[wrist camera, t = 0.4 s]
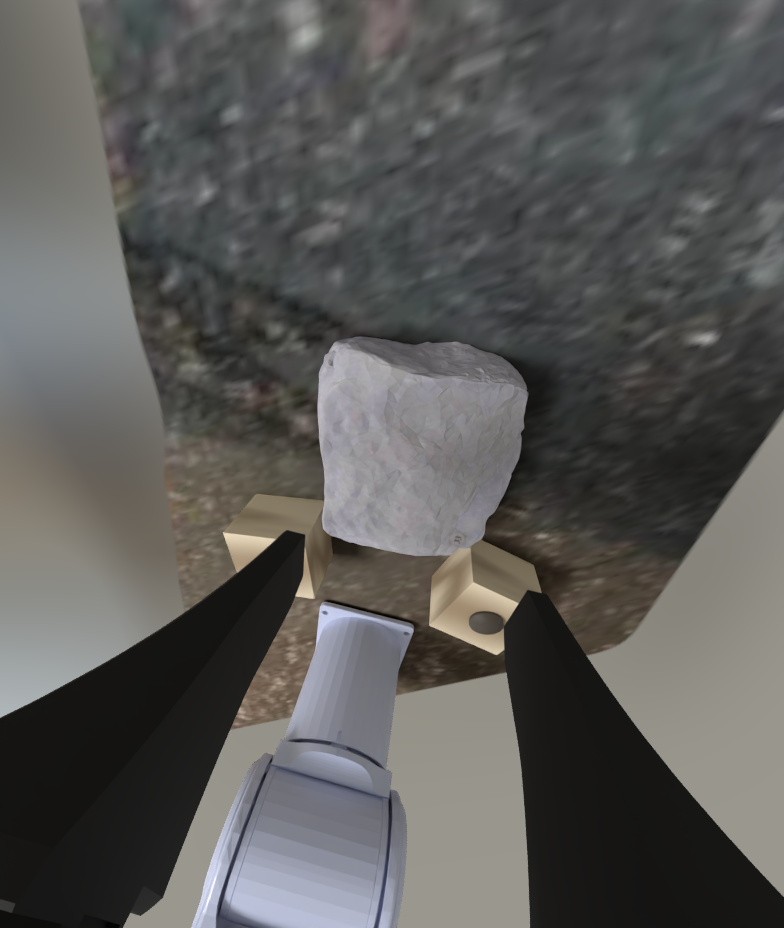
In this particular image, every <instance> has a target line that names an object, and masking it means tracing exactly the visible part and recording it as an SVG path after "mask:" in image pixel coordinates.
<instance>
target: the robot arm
mask: <svg viewBox="0 0 784 928" xmlns="http://www.w3.org/2000/svg"><path fill="white" fill-rule="evenodd" d="M304 553H305V534H301V533H297V532H293V531H289V530H286V531H284V532H283V533H282V534H281V535H280V536H279V537H278V538H277V539H276V540H275V541H273V542H272V543H271V544H270V545H269V546H268V547H267V548H266V549H265V550H264V551H262V552H261V553H260V554H259V555H258V556H257V557H256V558H254V559H253V560H252V561H251V562H250V563H249V564H247V565H246V566H245V567H244V568H242V569H241V570H240V571H239V572H238V573H236V574H235V575H234V576H233V577H232V578H230V579H229V580H228V581H227V582H225V583H224V584H223V585H221V586H220V587H219V588H217V589H216V590H215V591H213V592H212V593H211V594H209V595H208V596H207V597H205V598H204V599H203V600H202V601H200V602H199V603H197V604H196V605H195V606H193V607H192V608H190V609H189V610H188V611H186V612H185V613H183V614H182V615H180V616H179V617H178V618H176V619H175V620H173V621H172V622H170V623H169V624H167V625H166V626H164V627H163V628H161V629H159V630H158V631H157V632H155V633H153V634H152V635H150V636H148V637H147V638H145V639H144V640H142V641H140V642H139V643H137V644H136V645H134V646H132V647H131V648H129V649H127V650H126V651H124V652H122V653H121V654H119V655H117V656H116V657H114V658H112V659H111V660H109V661H107V662H105V663H104V664H102V665H100V666H98V667H96V668H95V669H93V670H91V671H89V672H87V673H85V674H84V675H82V676H80V677H78V678H76V679H74V680H73V681H71V682H69V683H67V684H65V685H63V686H62V687H60V688H58V689H56V690H54V691H53V692H51V693H49V694H47V695H45V696H43V697H41V698H39V699H37V700H35V701H33V702H32V703H30V704H28V705H25V706H23V707H21V708H19V709H17V710H15V711H13V712H11V713H9V714H7V715H5V716H3V717H1V718H0V928H123V926H124V924H125V922H126V920H127V918H128V916H129V914H130V913H133V914H136V915H140V916H141V915H142V914H144V913H145V912H147V911H148V910H149V909H150V908H152V907H153V906H154V905H155V904H156V903H157V902H158V901H159V900H160V899H162V898H163V895H164V893H165V890H166V888H167V885H168V882H169V880H170V877H171V874H172V872H173V869H174V867H175V864H176V862H177V859H178V856H179V854H180V851H181V849H182V846H183V843H184V841H185V838H186V836H187V833H188V831H189V828H190V826H191V823H192V821H193V818H194V815H195V813H196V811H197V808H198V806H199V803H200V801H201V798H202V796H203V793H204V791H205V788H206V786H207V783H208V781H209V779H210V776H211V774H212V771H213V769H214V766H215V764H216V761H217V759H218V757H219V754H220V752H221V750H222V747H223V745H224V742H225V740H226V738H227V735H228V733H229V731H230V728H231V726H232V724H233V721H234V719H235V717H236V715H237V712H238V710H239V708H240V705H241V703H242V701H243V698H244V696H245V694H246V692H247V690H248V688H249V686H250V684H251V682H252V680H253V677H254V676H255V674H256V672H257V670H258V668H259V666H260V664H261V662H262V661H263V659H264V657H265V655H266V653H267V651H268V649H269V647H270V646H271V644H272V642H273V640H274V638H275V636H276V634H277V632H278V630H279V629H280V627H281V625H282V623H283V621H284V619H285V617H286V615H287V613H288V611H289V609H290V608H291V605H292V603H293V600H294V598H295V596H296V593H297V591H298V588H299V586H300V583H301V581H302V578H303V571H304ZM413 632H414V626H413V624H411V623H408V622H404V621H400V620H396V619H392V618H388V617H385V616H381V615H377V614H373V613H369V612H365V611H361V610H357V609H353V608H349V607H345V606H342V605H338V604H334V603H330V602H323V603H322V604H321V606H320V612H319V622H318V631H317V641H316V650H315V652H314V655H313V658H312V661H311V664H310V667H309V670H308V672H307V675H306V678H305V681H304V684H303V687H302V689H301V692H300V695H299V698H298V701H297V704H296V706H295V709H294V712H293V715H292V718H291V721H290V724H289V727H288V729H287V732H286V735H285V738H284V740H280V741H279V743H278V746H277V749H276V752H275V755H274V757H273V755H271V754H267V753H265V754H264V755H263V756H262V757H261V758H260V759H258V760H257V761H256V762H254V763H253V764H252V765H251V767H250V768H249V770H248V772H247V774H246V776H245V778H244V780H243V782H242V784H241V786H240V789H239V791H238V793H237V795H236V798H235V800H234V802H233V805H232V807H231V810H230V812H229V815H228V817H227V820H226V822H225V825H224V828H223V830H222V833H221V835H220V838H219V841H218V843H217V846H216V849H215V852H214V855H213V857H212V860H211V864H210V866H209V870H208V873H207V876H206V879H205V883H204V887H203V892H202V898H201V901H200V904H199V907H198V910H197V913H196V916H195V919H194V921H193V924H192V927H191V928H397V923H398V918H399V913H400V907H401V901H402V894H403V885H404V876H405V864H406V846H407V825H406V815H405V810H404V807H403V805H402V803H401V800H400V796H399V794H398V792H397V791H395V790H391V789H390V786H391V778H392V772H391V771H388V770H386V766H387V758H388V750H389V743H390V734H391V727H392V719H393V710H394V702H395V695H396V687H397V679H398V671H399V668H400V665H401V663H402V660H403V658H404V655H405V652H406V650H407V647H408V645H409V642H410V640H411V637H412V635H413ZM504 651H505V664H506V671H507V678H508V683H509V689H510V696H511V703H512V709H513V715H514V721H515V727H516V733H517V739H518V745H519V752H520V760H521V768H522V780H523V792H524V806H525V819H526V837H527V851H528V852H527V854H528V874H529V875H528V876H529V900H530V901H529V902H530V928H784V897H783V896H782V895H781V894H780V893H779V892H778V891H777V890H776V889H775V887H773V886H772V884H771V883H770V882H769V881H768V880H767V879H766V878H765V877H764V876H763V875H762V874H761V873H760V872H759V870H758V869H757V868H755V866H754V865H753V864H752V863H751V862H750V861H749V860H748V859H747V857H746V856H745V855H744V854H743V853H742V852H741V851H740V850H739V849H738V848H737V846H736V845H735V844H734V843H733V842H732V841H731V840H730V839H729V838H728V837H727V836H726V834H725V833H724V832H723V831H722V830H721V829H720V827H718V825H717V824H716V823H715V822H714V821H713V819H712V818H711V817H710V816H709V815H708V814H707V812H706V811H705V810H704V809H703V808H702V807H701V806H700V804H699V803H698V802H697V801H696V800H695V799H694V798H693V796H692V795H691V794H690V793H689V792H688V790H687V789H686V788H685V787H684V786H683V785H682V783H681V782H680V781H679V780H678V779H677V777H676V776H675V775H674V774H673V773H672V772H671V770H670V769H669V768H668V766H667V765H666V764H665V763H664V761H663V760H662V759H661V758H660V756H659V755H658V754H657V753H656V751H655V750H654V749H653V748H652V746H651V745H650V744H649V742H648V741H647V740H646V739H645V738H644V736H643V735H642V733H641V732H640V731H639V730H638V728H637V727H636V726H635V724H634V723H633V722H632V720H631V719H630V718H629V716H628V715H627V713H626V712H625V711H624V709H623V708H622V707H621V705H620V704H619V702H618V701H617V700H616V698H615V697H614V696H613V694H612V693H611V691H610V690H609V688H608V687H607V686H606V684H605V683H604V681H603V680H602V678H601V677H600V675H599V674H598V673H597V671H596V670H595V668H594V667H593V665H592V664H591V662H590V661H589V659H588V658H587V656H586V655H585V653H584V652H583V650H582V648H581V647H580V645H579V644H578V642H577V641H576V639H575V638H574V636H573V635H572V633H571V631H570V630H569V628H568V627H567V625H566V624H565V622H564V620H563V619H562V617H561V616H560V614H559V613H558V611H557V609H556V608H555V606H554V605H553V603H552V602H551V600H550V599H549V597H548V596H547V594H543V593H539V592H535V591H531V590H527V591H526V593H525V594H524V596H523V598H522V599H521V601H520V602H519V604H518V605H517V607H516V608H515V610H514V612H513V613H512V615H511V616H510V618H509V619H508V621H507V622H506V624H505V626H504Z"/></svg>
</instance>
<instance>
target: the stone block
mask: <svg viewBox="0 0 784 928" xmlns="http://www.w3.org/2000/svg"><path fill="white" fill-rule="evenodd" d="M527 399H528V392H527V387H526V384H525V382H524V380H523V378H522V376H521V375H520V374H519V373H518V371H517V370H516V369H515V368H514V367H513V366H512V365H511V364H510V363H509V362H507V361H506V360H505V359H503V357H500V356H498V355H496V354H494V353H490V352H485V351H482V350H479V349H477V348H475V347H473V346H471V345H469V344H463V343H460V342H455V341H454V342H450V343H449V342H445V343H430V342H425V343H421V344H418V345H411V344H403V343H400V342H397V341H391V340H386V339H379V338H371V337H362V336H360V337H354V338H348V339H344V340H340V341H336V342H335V343H334V344H333V346H332V347H331V349H330V351H329V353H328V354H326V355H325V357H324V363H323V365H322V367H321V369H320V372H319V393H318V423H319V440H320V449H321V456H322V460H323V466H324V476H325V487H324V495H325V500H324V507H323V514H322V525H323V529H324V530H325V531H326V532H327V533H328V534H329V535H331V536H334V537H337V538H341V539H343V540H345V541H347V542H350V543H356V544H359V545H362V546H371V547H374V548H378V549H382V550H387V551H393V552H397V553H401V554H403V553H404V554H409V555H414V556H436V555H453V554H454V553H455V552H456V551H457V550H459V549H467V548H470V547H471V546H472V545H473V544H475V543H476V542H478V541H479V540H481V539H482V537H483V535H484V533H485V526H486V521H487V519H488V517H489V516H490V515H492V514H493V513H494V512H495V510H496V509H497V507H498V505H499V503H500V501H501V499H502V497H503V496H504V494H505V492H506V489H507V487H508V484H509V481H510V479H511V473H512V472H513V470H514V468H515V466H516V464H517V462H518V460H519V456H520V452H521V441H522V437H521V432H522V430H523V429H524V414H525V408H526V403H527Z"/></svg>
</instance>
